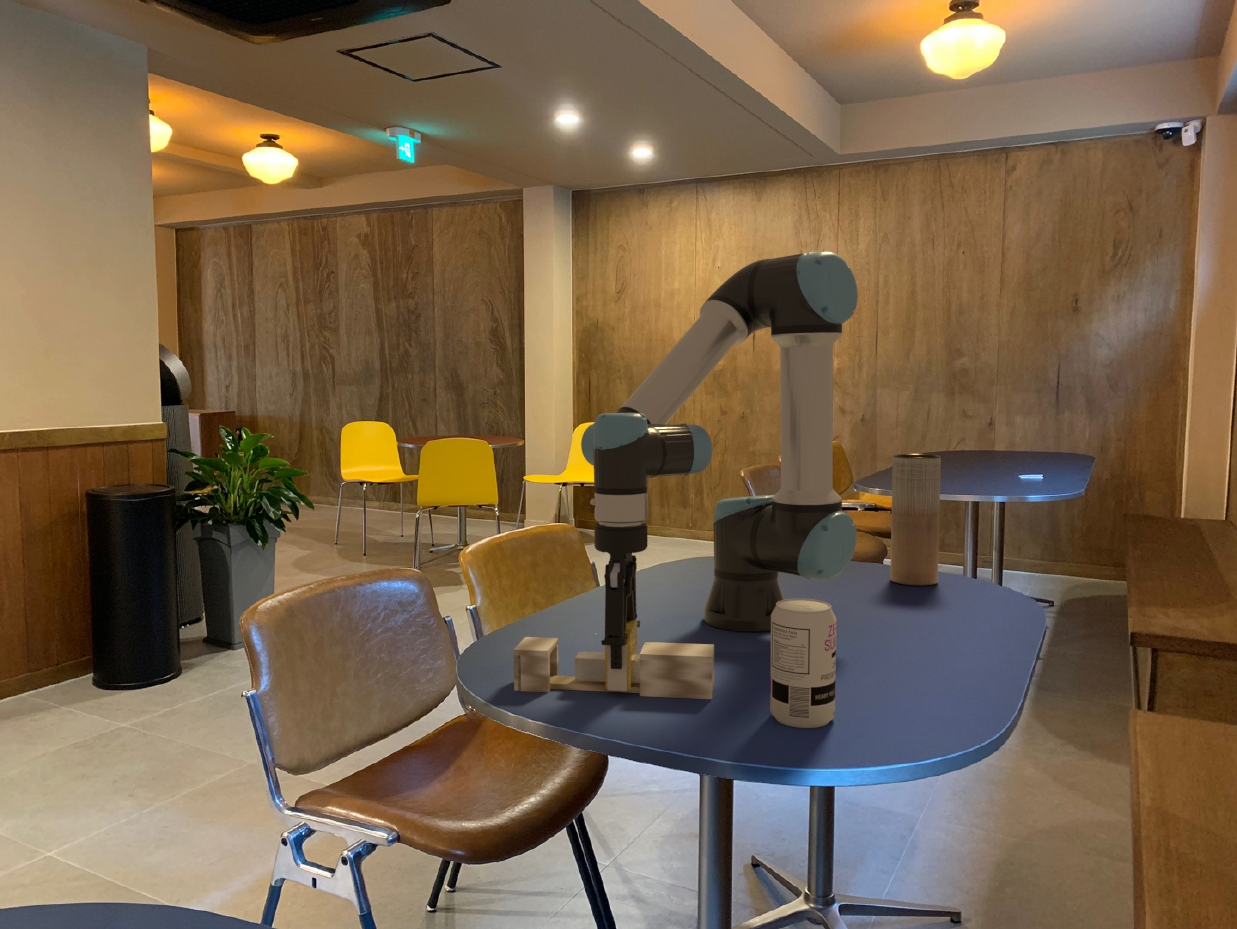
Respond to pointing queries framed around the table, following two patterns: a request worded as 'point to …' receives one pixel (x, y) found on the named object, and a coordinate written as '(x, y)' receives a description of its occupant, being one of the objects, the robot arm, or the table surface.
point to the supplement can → (803, 663)
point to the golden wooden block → (595, 663)
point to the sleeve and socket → (660, 676)
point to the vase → (915, 519)
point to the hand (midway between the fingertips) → (621, 680)
